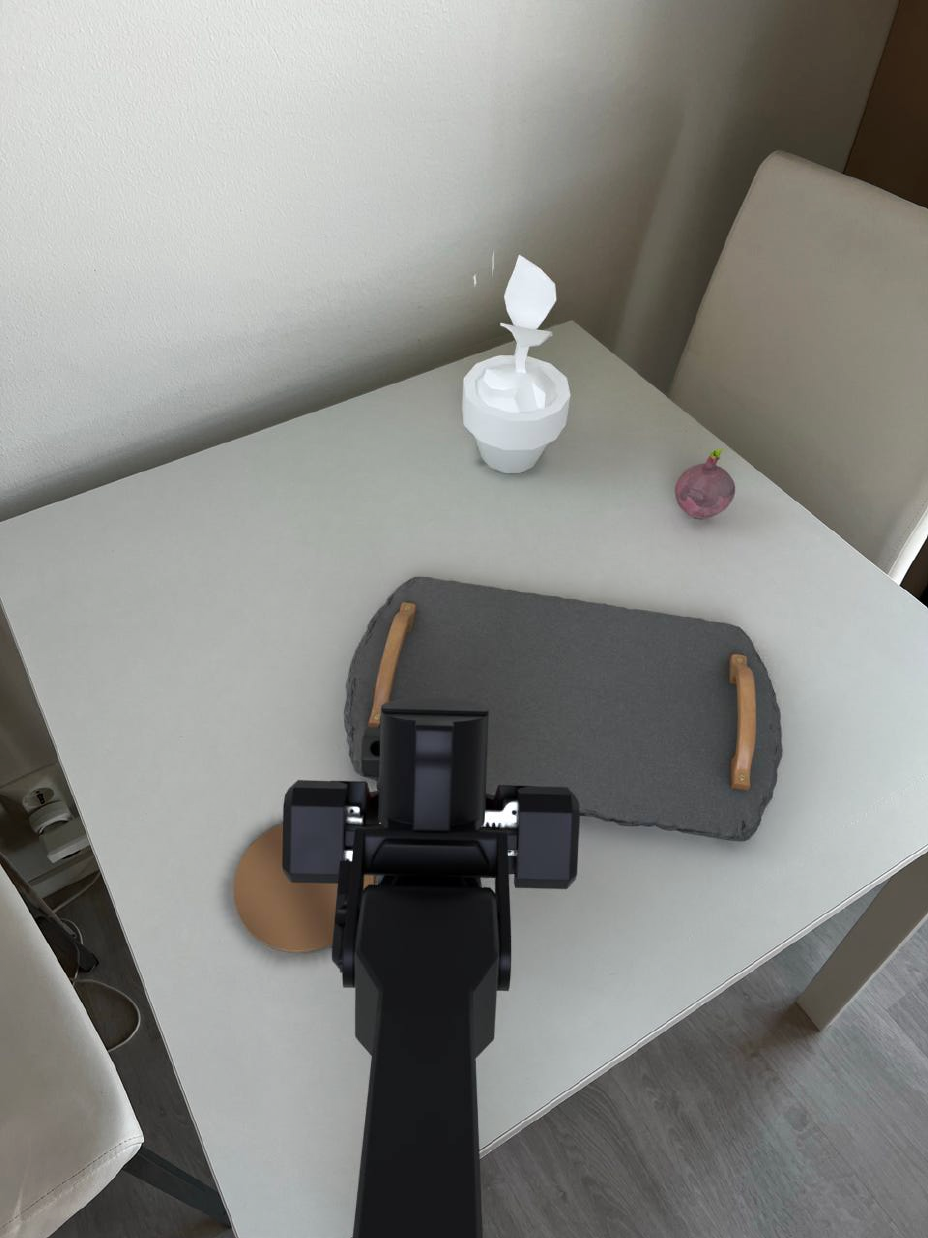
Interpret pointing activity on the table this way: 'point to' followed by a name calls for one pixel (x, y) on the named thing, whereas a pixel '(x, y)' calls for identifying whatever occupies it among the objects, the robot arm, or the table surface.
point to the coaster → (283, 900)
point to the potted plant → (518, 382)
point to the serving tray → (585, 700)
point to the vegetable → (705, 489)
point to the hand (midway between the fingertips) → (432, 798)
